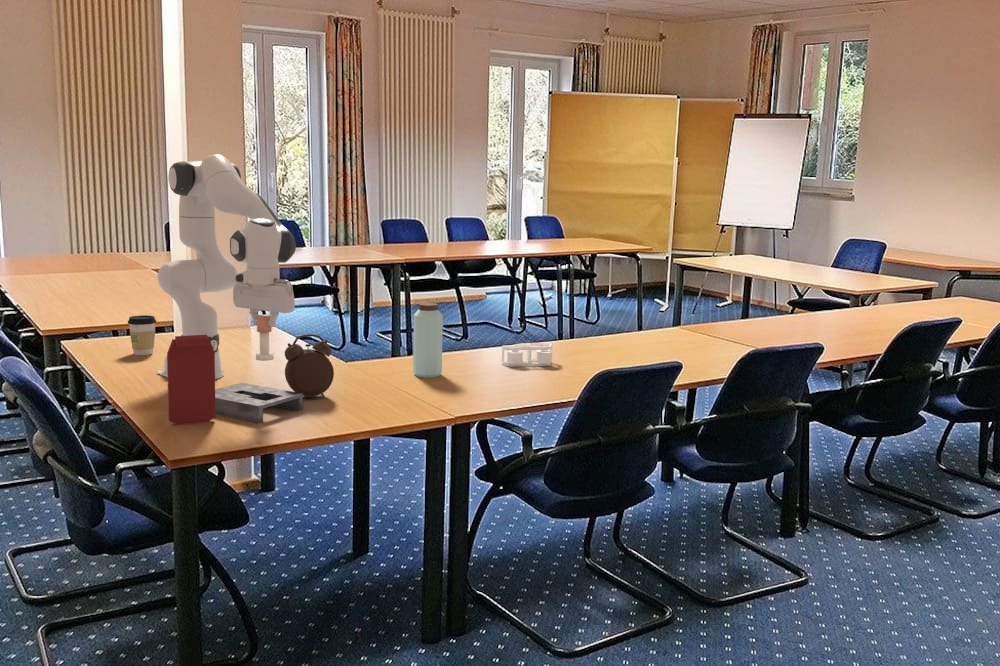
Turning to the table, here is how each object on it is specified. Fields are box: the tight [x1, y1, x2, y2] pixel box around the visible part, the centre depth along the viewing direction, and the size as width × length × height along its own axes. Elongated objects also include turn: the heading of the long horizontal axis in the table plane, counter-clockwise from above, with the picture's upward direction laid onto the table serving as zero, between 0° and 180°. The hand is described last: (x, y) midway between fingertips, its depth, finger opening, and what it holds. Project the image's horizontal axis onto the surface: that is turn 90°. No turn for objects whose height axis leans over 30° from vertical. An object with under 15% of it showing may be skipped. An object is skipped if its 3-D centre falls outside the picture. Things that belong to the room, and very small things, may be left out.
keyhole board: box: [215, 382, 304, 425], centre depth 269 cm, size 18×24×5 cm
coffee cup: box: [127, 314, 157, 356], centre depth 337 cm, size 10×10×15 cm
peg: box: [255, 314, 274, 362], centre depth 263 cm, size 5×5×12 cm
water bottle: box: [412, 302, 444, 379], centre depth 319 cm, size 10×10×25 cm
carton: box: [166, 335, 216, 425], centre depth 250 cm, size 12×5×25 cm, turn 117°
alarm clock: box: [284, 333, 335, 398], centre depth 284 cm, size 14×7×20 cm, turn 115°
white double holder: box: [501, 342, 553, 368], centre depth 344 cm, size 20×11×7 cm, turn 102°
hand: (264, 325), depth 262 cm, fingers closed on peg, 4 cm apart
